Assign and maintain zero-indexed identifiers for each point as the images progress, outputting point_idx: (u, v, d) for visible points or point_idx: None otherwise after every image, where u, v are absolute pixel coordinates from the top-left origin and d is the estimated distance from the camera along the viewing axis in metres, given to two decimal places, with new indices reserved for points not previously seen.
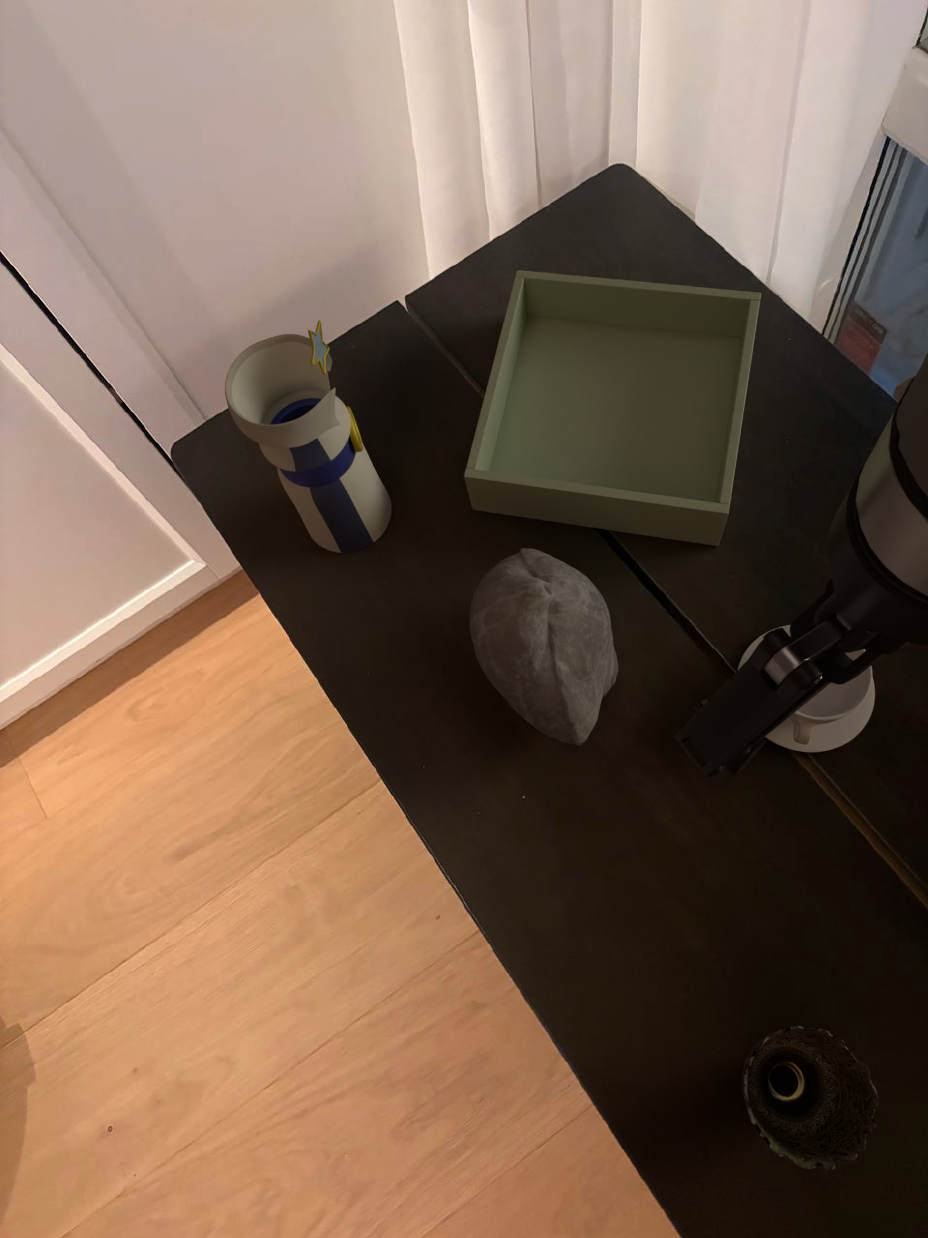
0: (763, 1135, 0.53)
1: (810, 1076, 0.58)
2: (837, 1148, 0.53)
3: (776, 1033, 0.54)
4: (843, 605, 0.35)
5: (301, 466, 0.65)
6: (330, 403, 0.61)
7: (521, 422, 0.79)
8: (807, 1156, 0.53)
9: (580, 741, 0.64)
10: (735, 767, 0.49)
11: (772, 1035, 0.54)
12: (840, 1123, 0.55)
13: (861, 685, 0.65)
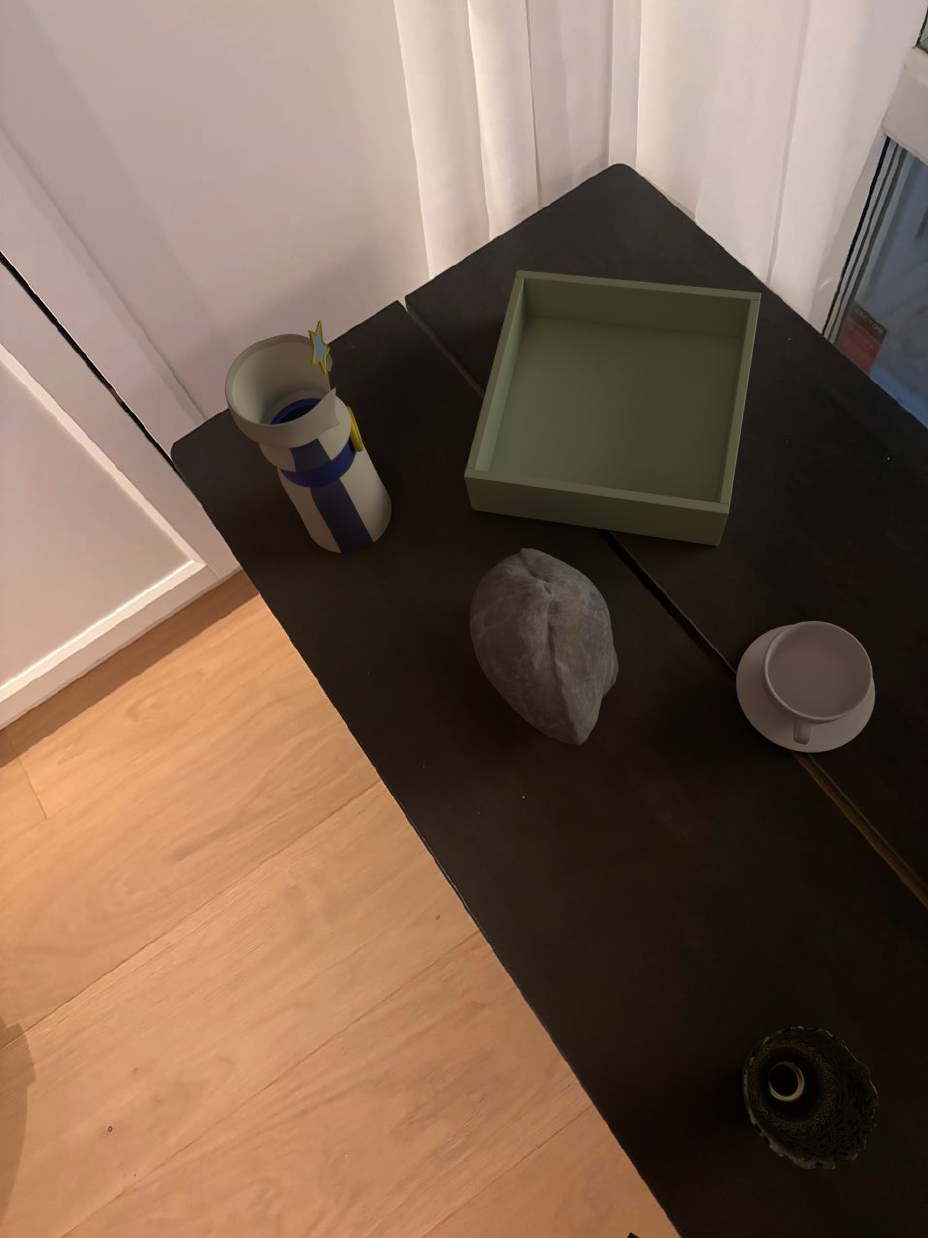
0: (763, 1135, 0.53)
1: (810, 1076, 0.58)
2: (837, 1148, 0.53)
3: (776, 1033, 0.54)
4: None
5: (301, 466, 0.65)
6: (330, 403, 0.61)
7: (521, 422, 0.79)
8: (807, 1156, 0.53)
9: (580, 741, 0.64)
10: None
11: (772, 1035, 0.54)
12: (840, 1123, 0.55)
13: (861, 685, 0.65)
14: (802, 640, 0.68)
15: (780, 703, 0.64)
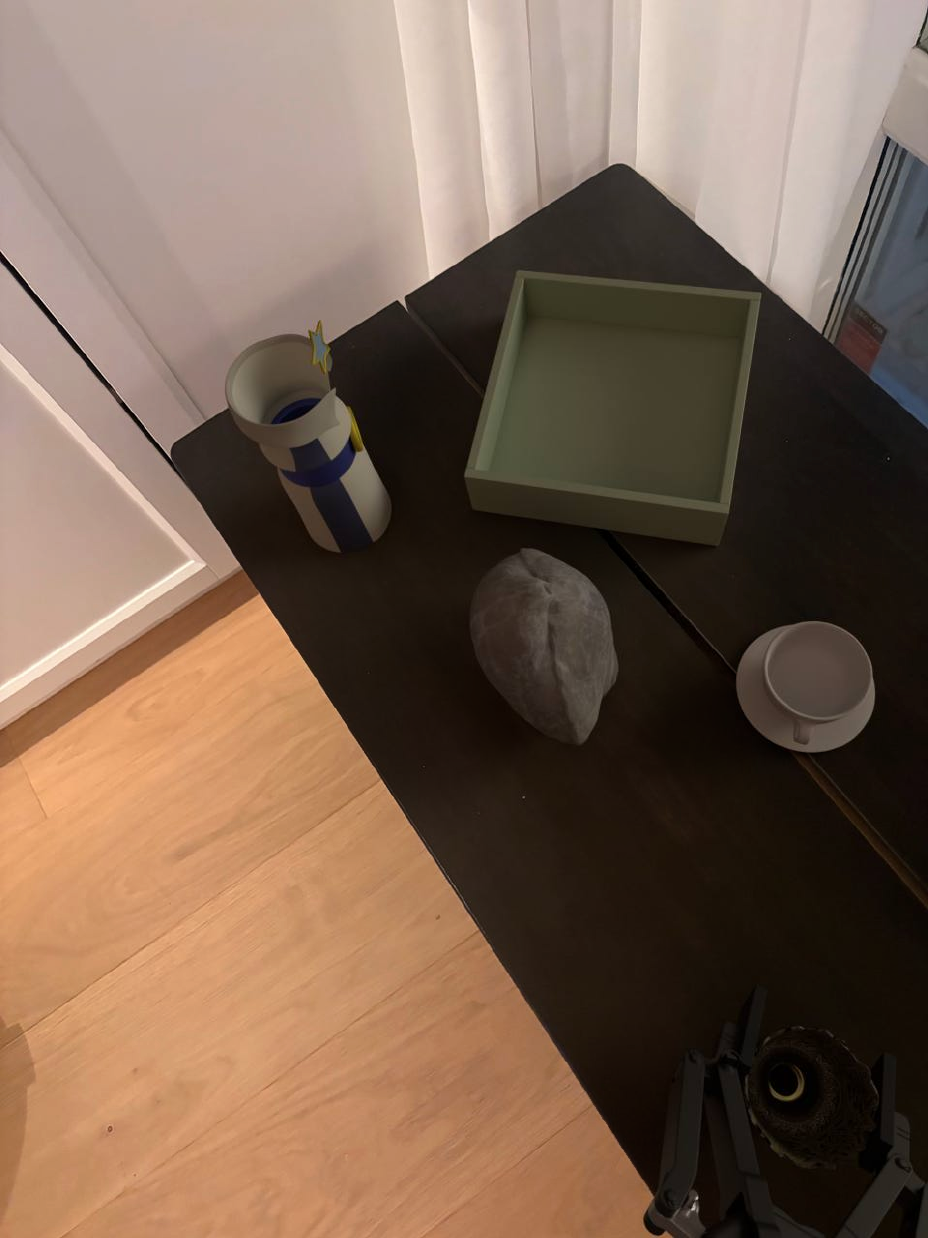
0: (764, 1135, 0.53)
1: (810, 1076, 0.58)
2: (837, 1148, 0.53)
3: (777, 1033, 0.54)
4: None
5: (301, 466, 0.65)
6: (330, 403, 0.61)
7: (521, 422, 0.79)
8: (807, 1156, 0.53)
9: (580, 741, 0.64)
10: None
11: (773, 1035, 0.54)
12: (840, 1123, 0.55)
13: (861, 685, 0.65)
14: (802, 640, 0.68)
15: (780, 703, 0.64)
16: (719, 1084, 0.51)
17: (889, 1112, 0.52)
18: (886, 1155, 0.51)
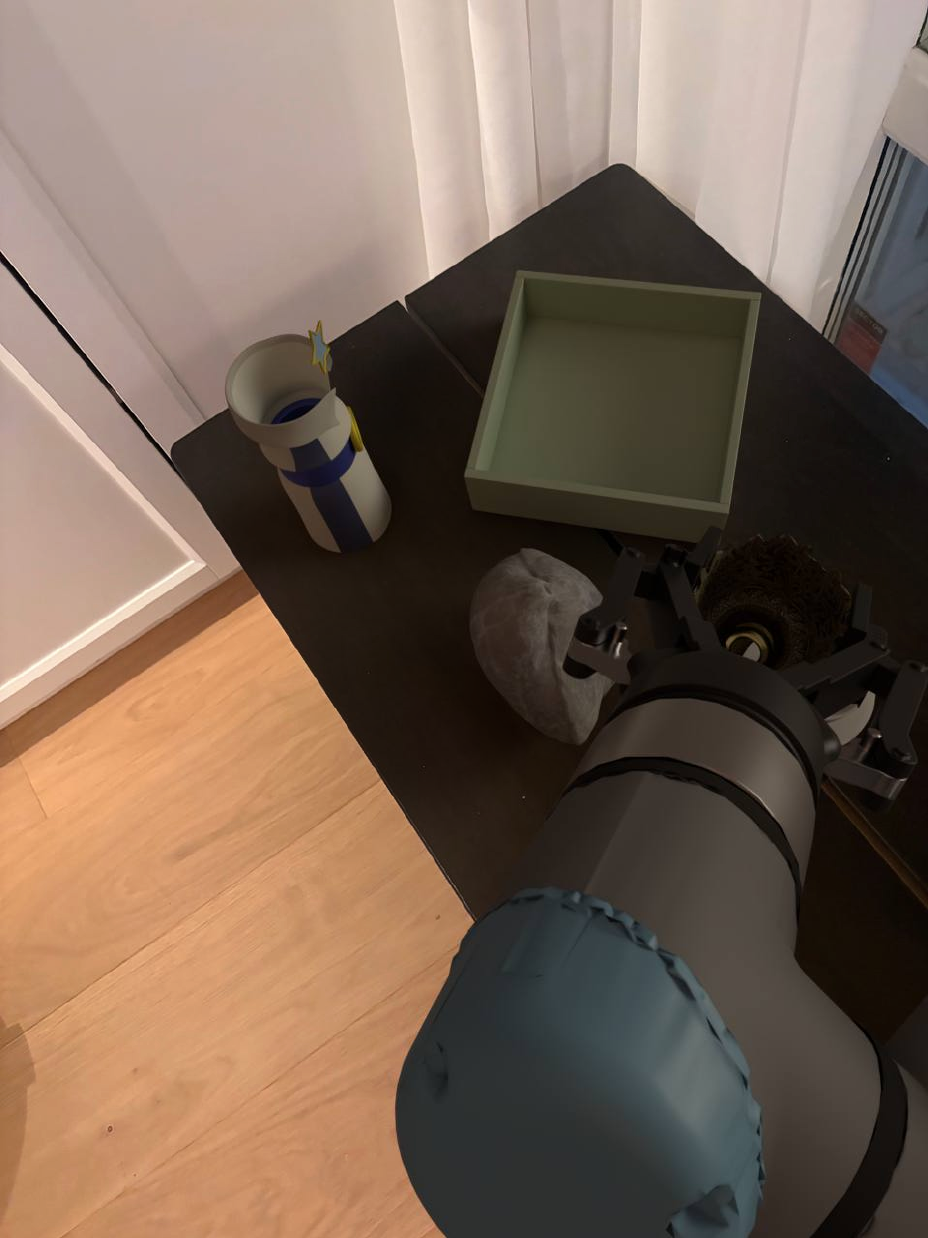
0: None
1: (774, 634, 0.50)
2: None
3: (731, 543, 0.46)
4: None
5: (301, 466, 0.65)
6: (330, 403, 0.61)
7: (521, 422, 0.79)
8: None
9: (580, 741, 0.64)
10: None
11: (727, 547, 0.46)
12: (808, 662, 0.47)
13: None
14: None
15: None
16: (661, 574, 0.43)
17: (863, 613, 0.44)
18: None
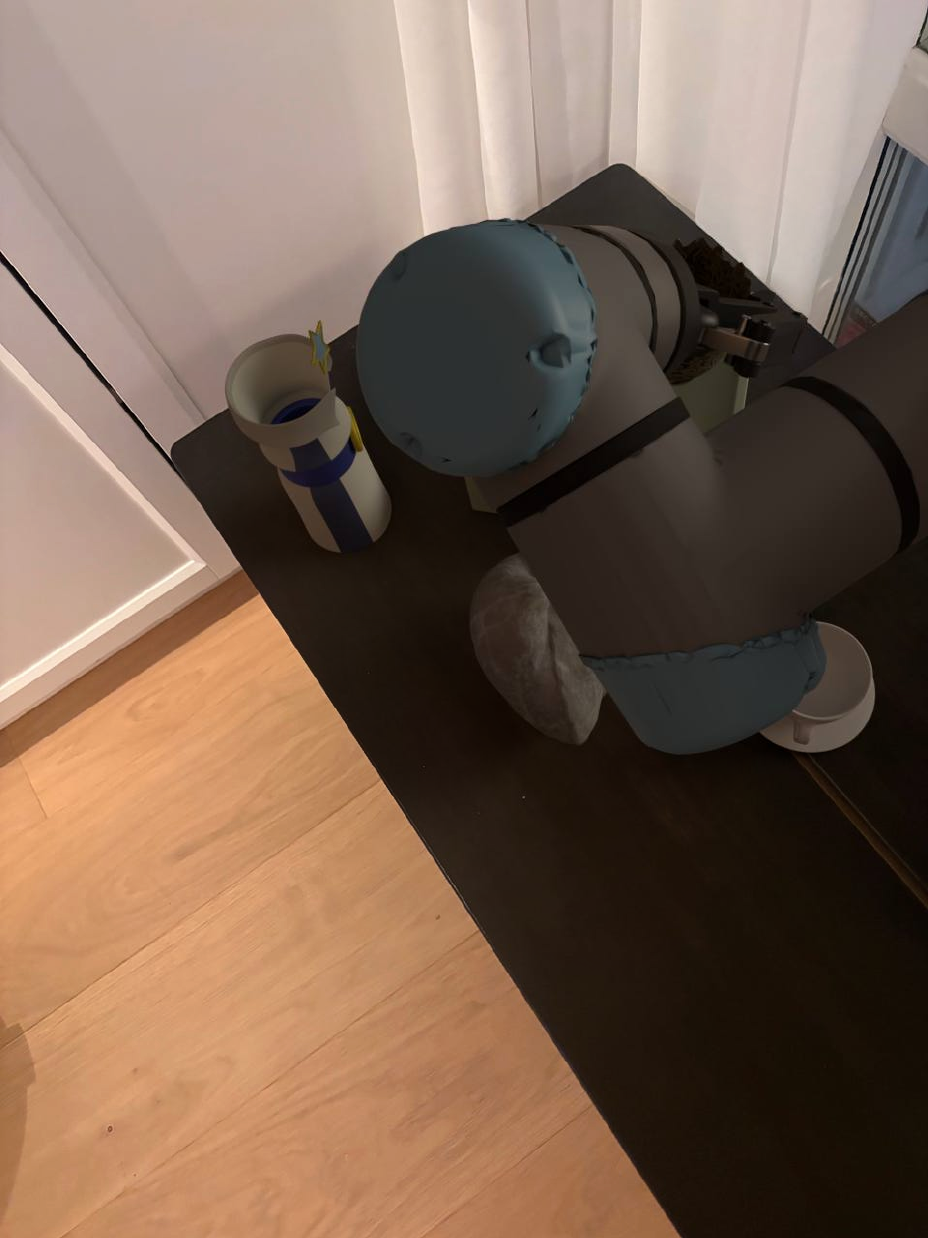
0: None
1: None
2: None
3: None
4: (692, 345, 0.42)
5: (301, 466, 0.65)
6: (330, 403, 0.61)
7: None
8: None
9: (580, 741, 0.64)
10: (771, 297, 0.56)
11: None
12: None
13: (861, 685, 0.65)
14: None
15: None
16: None
17: (761, 294, 0.54)
18: None
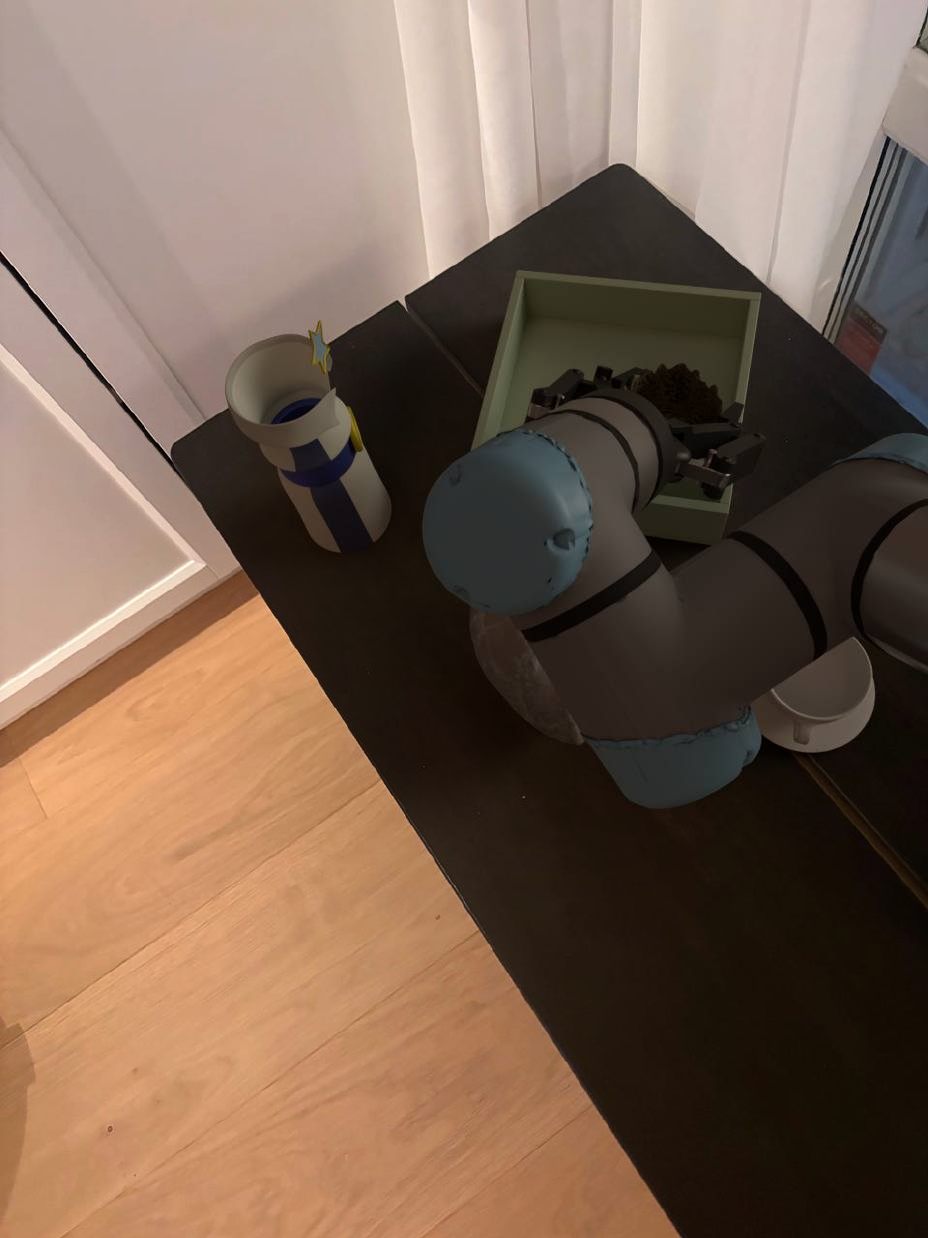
0: None
1: None
2: None
3: (645, 369, 0.67)
4: (670, 477, 0.54)
5: (301, 466, 0.65)
6: (330, 403, 0.61)
7: (521, 422, 0.79)
8: None
9: (580, 741, 0.64)
10: (740, 410, 0.68)
11: (642, 372, 0.68)
12: None
13: (861, 685, 0.65)
14: None
15: (780, 703, 0.64)
16: (594, 383, 0.65)
17: (731, 412, 0.65)
18: None
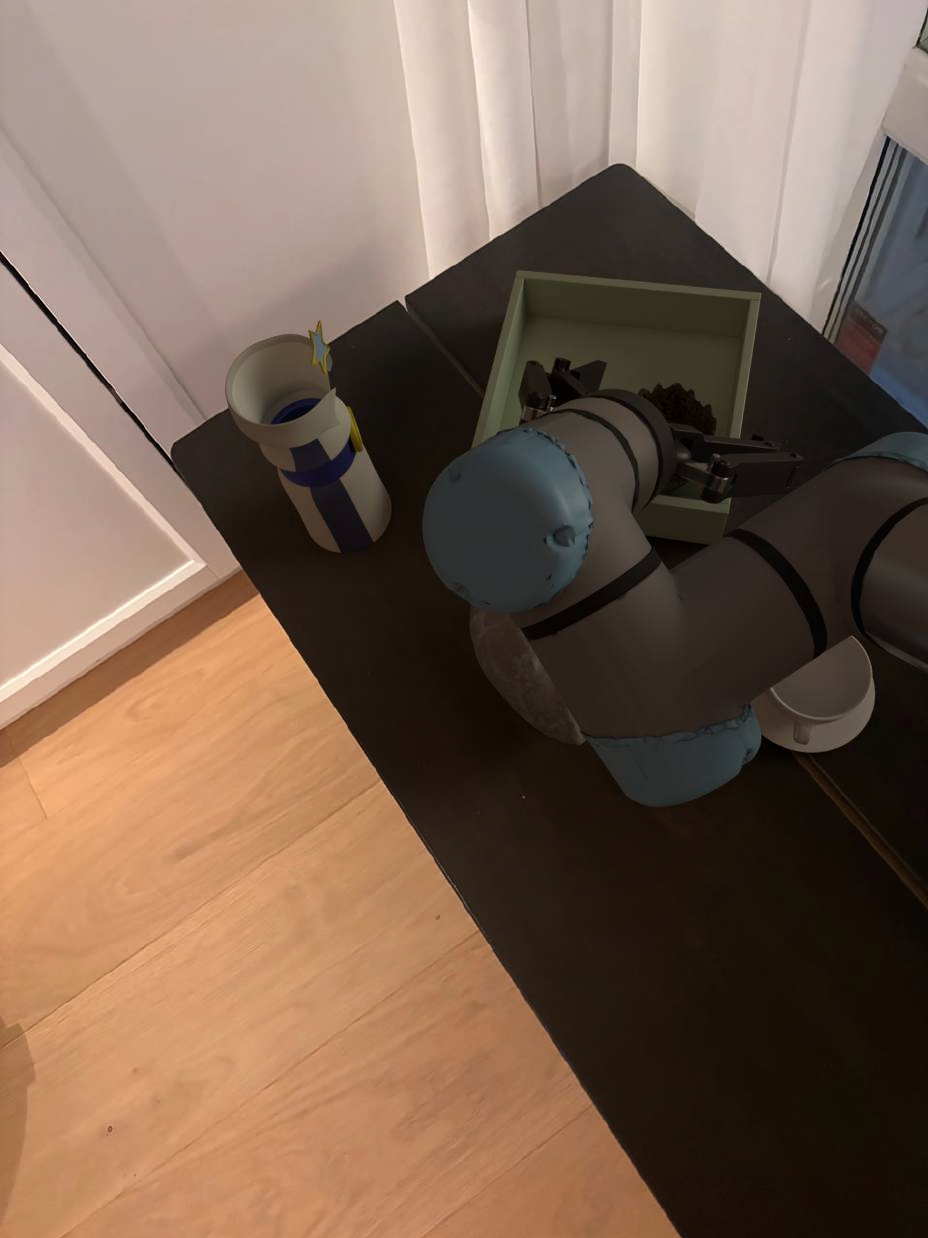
0: None
1: None
2: None
3: (642, 388, 0.70)
4: (670, 477, 0.54)
5: (301, 466, 0.65)
6: (330, 403, 0.61)
7: None
8: None
9: (580, 741, 0.64)
10: (772, 428, 0.66)
11: (639, 392, 0.70)
12: None
13: (861, 685, 0.65)
14: None
15: (780, 703, 0.64)
16: (557, 376, 0.64)
17: (764, 430, 0.63)
18: None
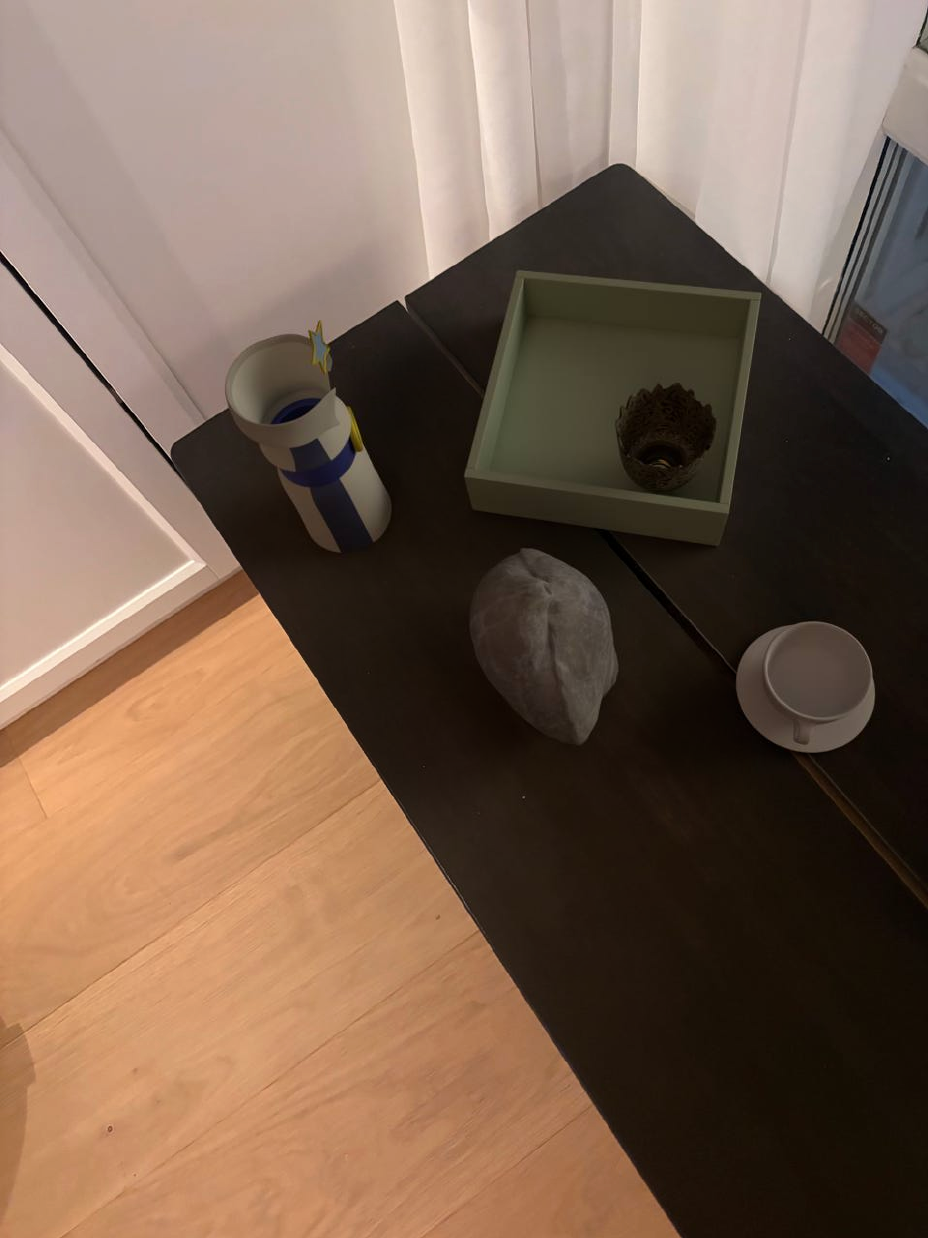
0: (629, 456, 0.69)
1: (676, 459, 0.74)
2: None
3: (642, 388, 0.70)
4: None
5: (301, 466, 0.65)
6: (330, 403, 0.61)
7: (521, 422, 0.79)
8: (663, 474, 0.69)
9: (580, 741, 0.64)
10: None
11: (639, 392, 0.70)
12: None
13: (861, 685, 0.65)
14: (802, 640, 0.68)
15: (780, 703, 0.64)
16: None
17: None
18: None
